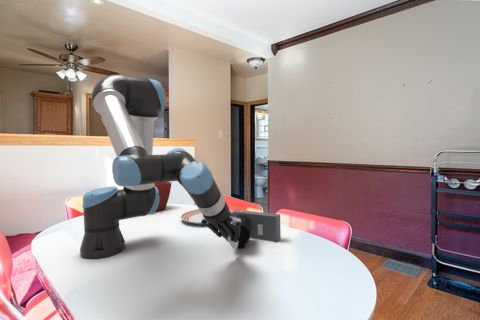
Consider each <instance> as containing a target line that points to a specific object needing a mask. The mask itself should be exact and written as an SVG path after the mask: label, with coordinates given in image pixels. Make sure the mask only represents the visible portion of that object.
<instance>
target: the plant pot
mask: <svg viewBox="0 0 480 320" xmlns="http://www.w3.org/2000/svg"><path fill="white" fill-rule="evenodd" d="M154 186H156V187H157V189H158V191H159V205H158V208H157V210H156V211H155V212H159V211H160V212H161V211H165V210H166V208H167V206H168V201H169V198H170V195H171V190H172V181H171V182H162V183H154ZM155 212H154V213H155Z"/></svg>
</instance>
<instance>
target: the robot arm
mask: <svg viewBox="0 0 480 320" xmlns="http://www.w3.org/2000/svg"><path fill="white" fill-rule="evenodd" d="M91 103H92V106H93V108H94V111H96V113H98V114H100V117H101V119H102V122H103V125H104V127H105V130H106V132H107V135H108V137H109V140H110V142H111V145H112V147H113V148H112V149H113V150H114V154H115V158H114V159H113V161H112V166H111V168H112V169H111V171H112V178H113V180H114V183H115V184H116V185H117V186H118V187H123V188H122V189H121V188H120V189H119V188H118V187H117V186H114V185H113V186H105V187H100V188H96V189H95V188H94V189H92V190H89V191H86V193H84V194H83V196H82V197H83V198H82V210H83V226H84V227H83V228H84V234H83V238H82V240H81V241H82V242H81V245H80V248H79V256H80V257H81V258H84V259H102V258H105V257H111V256H114V255H117V254H119V253H121V252H123V251H124V250H125V249H126V241H125V237H124V236H123V233H122V231H121V229H120V221H122V220H128V219H133V218H139V217H145V216H149V215H153V214H154V213H155V211H156V210H157V208H158V205H159V191H158V189H157V187H156V186H154V183H162V182H171V183H172V182H178V184H180V186H181V187H183V189H184V190H185V191H186V192H187V194H188V195H189V196H190V198H191V200H193V202H194V203H195V205H196V207H197V209H199V210H200V211H201V213H202V215H203V219H202V221H201V223H203V224H205V225H204V226H206V228H208V229H210V230H211V232H213V233H214V234H215V236H217V237H218V238H224V239H225V241H226V242H228V243H229V244H230V247H231V248H232V250H233V249H235V250H236V249H238V242H239V241H238V238H239V236H240V232H241V228H240V223H241V219H242V217H240V216H239V217H237V218H235V217H233V215H232V214H231V213H230V211H229V210H230V207H229V205H228V203H227V201H226V200H225V198H224V195H223V194H222V192H221V190H220V188H219V186H218V184H217V182H216V181H215V178H214V176H213V173H212V171H211V170H210V168H209V167H208V165H207V164H205V163H204V162H202V161H198V160H196V159H195V158H194V156H193V155H192V154H190V153H189V151H188V152H187V151H186V150H185V149H184V148H179V147H175V148H173V149H171V150H168V152H167V153H166V154H153V149H154V148H153V147H154V131H155V121H156V120H157V119H158V118H159V117H160V113H161V112H164V111H165V107H166V106H167V105H166V104H167V98H166V91H165V88H164V87H163V85H162V83H161V82H160V81H158V80H156V79H151V78H148V77H147V78H145V77H138V76H128V75H123V74H110V75H107V76H105V77H103V78H101V79H100V80H99V81H98V82H96V84H95V85H94V86H93V89H92V91H91ZM156 212H157V211H156ZM232 222H233V223H234V225H235V227H233V225H232Z"/></svg>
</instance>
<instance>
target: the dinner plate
mask: <svg viewBox="0 0 480 320" xmlns="http://www.w3.org/2000/svg"><path fill="white" fill-rule="evenodd" d="M229 211H230V213H231V214H232V212H233V211H234V210H231V209H229ZM180 219H181V220H182V221H184V222H186V223H190V224H195V225H204V226H206V225H205V224H203V223H201V221H202V219H203V215H202V213H201V211H200V210H199V208H197V209H193V210H192V209H191V210H188V211H186V212H184V213H182V214H181V215H180Z"/></svg>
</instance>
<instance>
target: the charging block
mask: <svg viewBox="0 0 480 320" xmlns="http://www.w3.org/2000/svg"><path fill="white" fill-rule="evenodd" d="M232 211H233V212H232V215H233V217H237V215H247V217H249V219H251V233H250V239H257V240H261V241H267V242H268V241H269V242H275V243H277V242H279V241H280V240H281V238H282V237H281V214H278V213H270V212H261V211H253V210H252V211H250V210H241V209H236V210H232Z"/></svg>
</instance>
